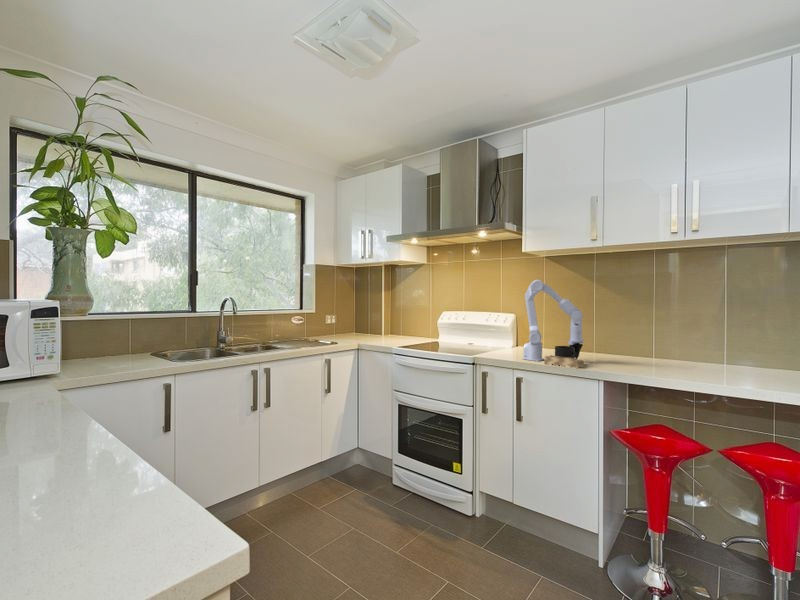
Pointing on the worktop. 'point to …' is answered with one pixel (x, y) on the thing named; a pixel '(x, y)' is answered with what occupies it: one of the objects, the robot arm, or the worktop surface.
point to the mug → (565, 351)
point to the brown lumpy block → (563, 361)
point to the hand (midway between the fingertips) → (575, 357)
